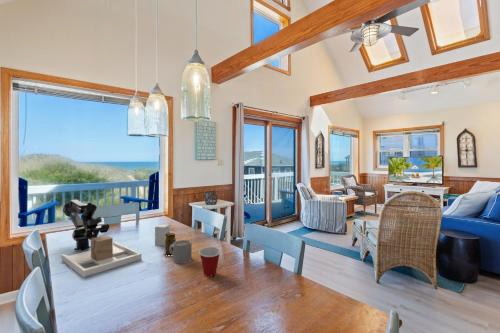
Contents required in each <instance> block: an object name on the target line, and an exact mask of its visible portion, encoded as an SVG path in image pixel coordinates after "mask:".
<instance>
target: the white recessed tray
mask: <svg viewBox="0 0 500 333" xmlns="http://www.w3.org/2000/svg"><path fill="white" fill-rule="evenodd" d="M141 260H142V253H140V252H139V251H137V250H135V249H131V248H130V247H127V246H125V245H124V244H121V243H119V242H116V241H113V257H111V258H108V259H104V260H101V261H96V260H94V259H93V258H91V250H88V251H83V252H79V253H75V254H70V255H67V254H66V253H62V254H61V261H62V262H63V263H64V264H66V265H67V266H68V267H69V268H70V269H72V270H74V271H75V272H76V273H77V274H79V275H80V276H81V277H82V278H88V277H91V276H94V275H98V274H100V273H103V272H107V271H110V270H113V269H116V268H119V267H123V266H125V265H130V264H133V263H135V262H138V261H141Z"/></svg>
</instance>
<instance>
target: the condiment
mask: <svg viewBox="0 0 500 333" xmlns="http://www.w3.org/2000/svg"><path fill="white" fill-rule="evenodd" d="M176 241H177V238H176V234H175V233H173V232H170V233H168V234H166V239H165V246H164V249H165V250H164V251H163V255H164V257H165V258H169V257H170V256H171V255H172V254H171V253H170V246H171V245H172V244H174V242H176ZM172 250H173V247H172ZM166 255H167V256H166ZM168 255H170V256H168ZM171 257H172V256H171ZM171 257H170V258H171Z"/></svg>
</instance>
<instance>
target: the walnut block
mask: <svg viewBox="0 0 500 333" xmlns="http://www.w3.org/2000/svg"><path fill="white" fill-rule="evenodd" d="M113 242H114V241H113V237H111V236H109V235H107V234H105V235H100V236H99V235H98V236H97V237H94V238H91V240H90V246H91V247H90V251H91V258H93V259H94V260H96V261H101V260H104V259H108V258H111V257H113Z"/></svg>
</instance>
